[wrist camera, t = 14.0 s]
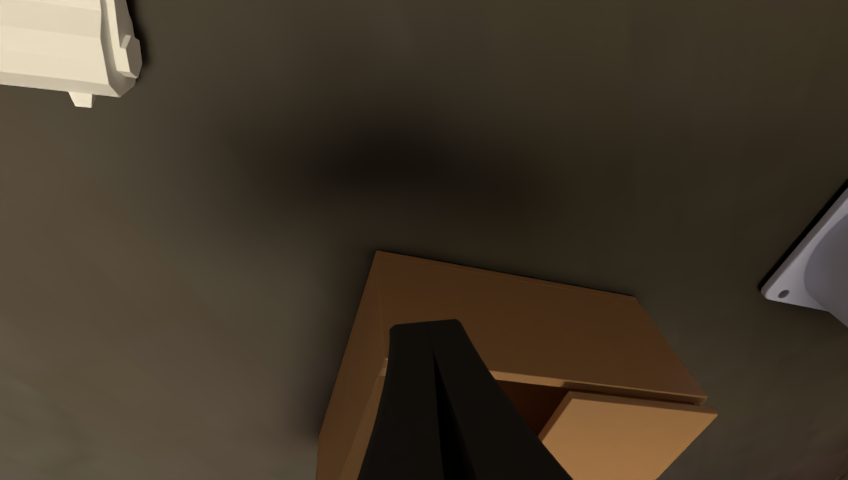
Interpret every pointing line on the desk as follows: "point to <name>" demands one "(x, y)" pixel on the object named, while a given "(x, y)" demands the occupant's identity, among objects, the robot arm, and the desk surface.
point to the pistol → (69, 47)
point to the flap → (363, 435)
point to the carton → (531, 365)
